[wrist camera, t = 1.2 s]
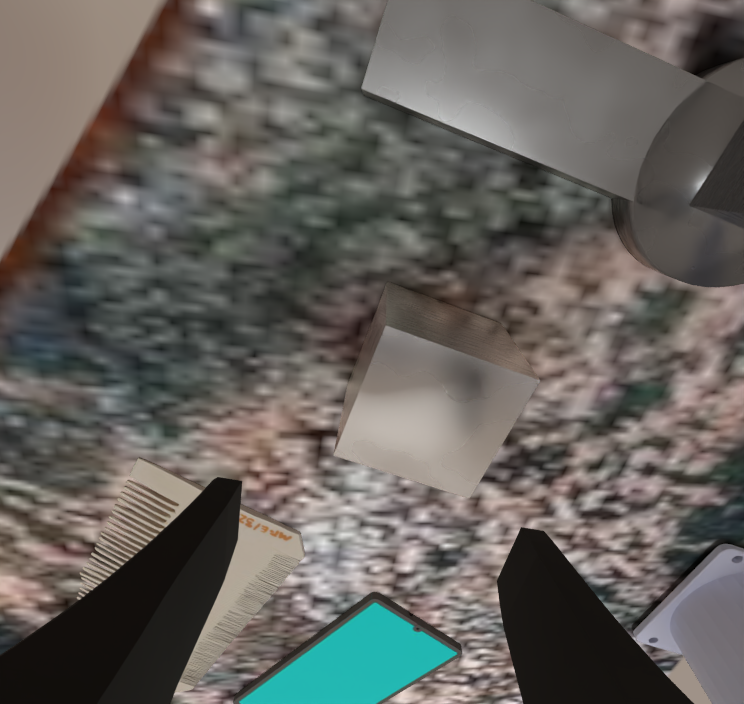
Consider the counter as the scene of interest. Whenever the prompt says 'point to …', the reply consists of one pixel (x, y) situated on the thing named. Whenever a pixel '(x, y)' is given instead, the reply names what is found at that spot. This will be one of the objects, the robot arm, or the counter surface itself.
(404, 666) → the smartphone
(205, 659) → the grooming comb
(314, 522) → the counter surface
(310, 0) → the counter surface
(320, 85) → the counter surface
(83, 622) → the robot arm
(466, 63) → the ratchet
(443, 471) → the brushed metal cube
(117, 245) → the counter surface
